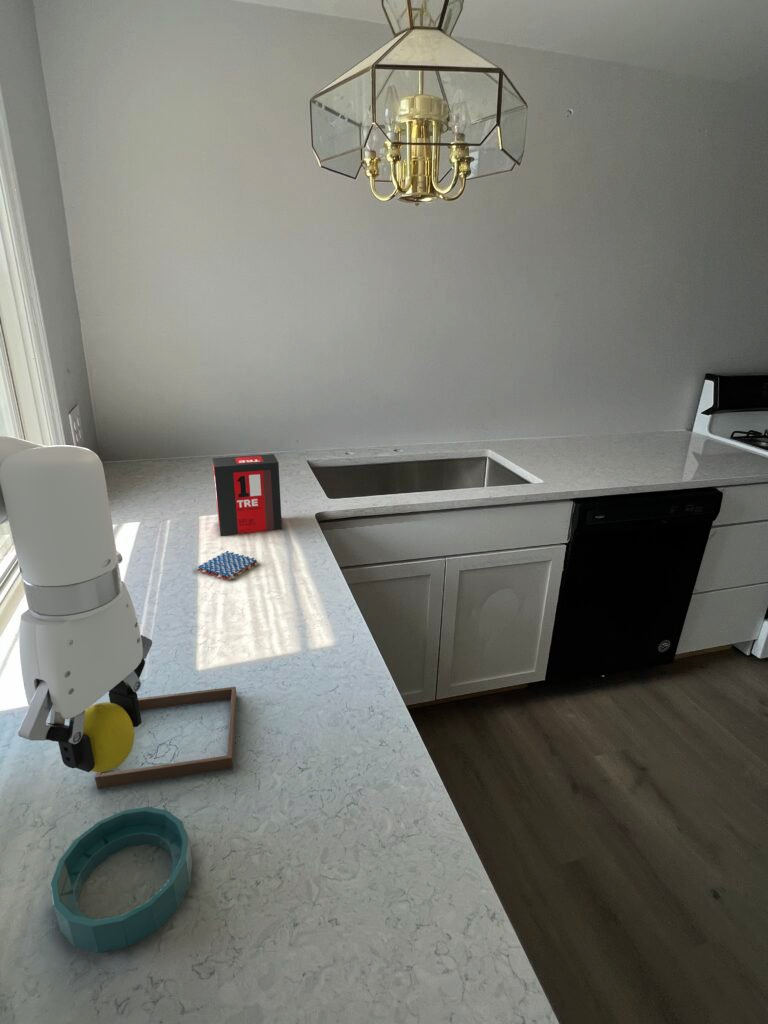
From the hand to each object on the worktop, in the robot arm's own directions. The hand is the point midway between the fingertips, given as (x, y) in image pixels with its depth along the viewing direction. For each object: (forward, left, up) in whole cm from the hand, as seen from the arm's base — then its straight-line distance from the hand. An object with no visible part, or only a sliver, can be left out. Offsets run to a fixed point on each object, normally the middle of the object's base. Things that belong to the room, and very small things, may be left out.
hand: (104, 741), depth 56 cm
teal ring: (0, -2, -19) cm, 19 cm away
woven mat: (+7, +75, -19) cm, 78 cm away
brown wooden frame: (+2, +20, -19) cm, 27 cm away
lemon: (0, 0, -4) cm, 4 cm away
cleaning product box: (+12, +100, -19) cm, 102 cm away
